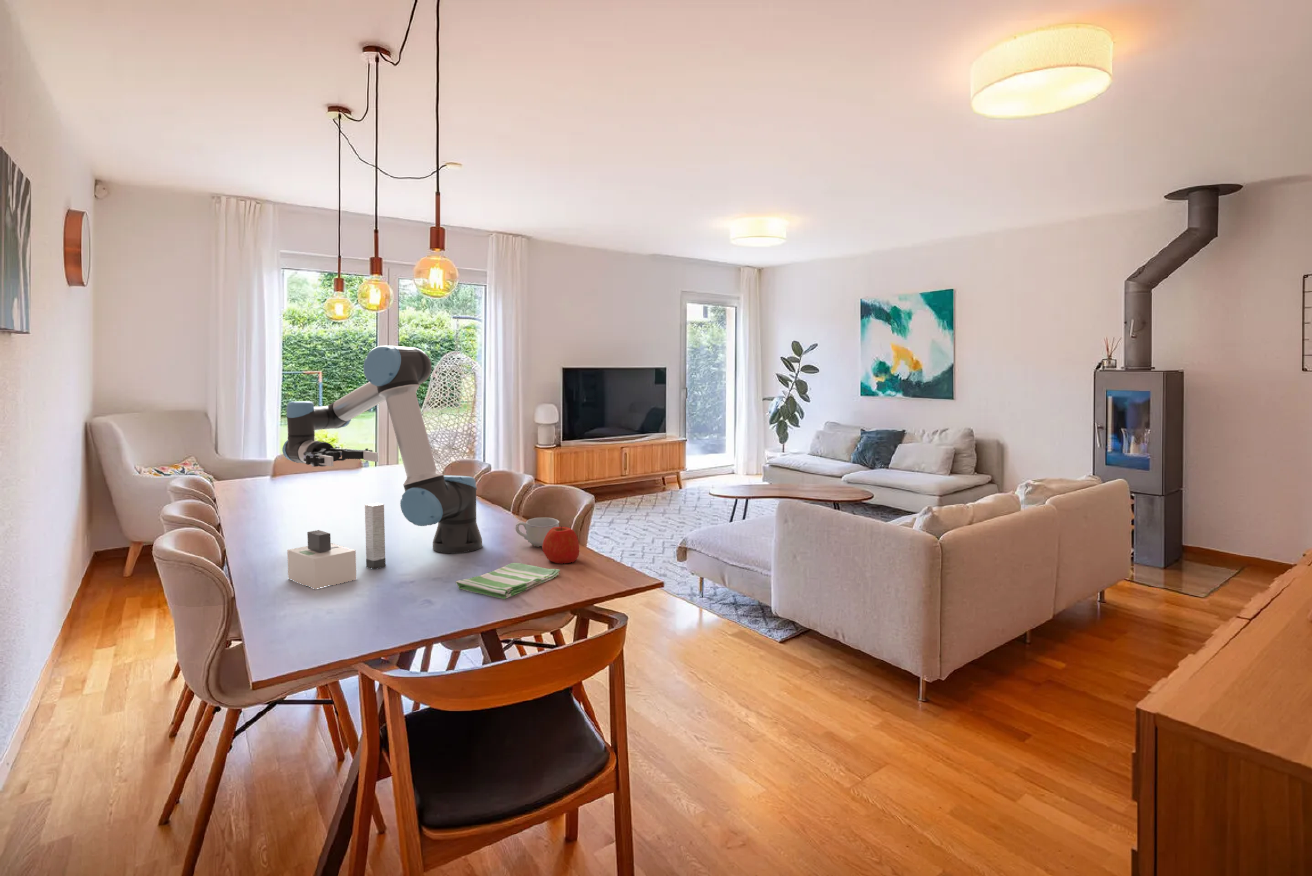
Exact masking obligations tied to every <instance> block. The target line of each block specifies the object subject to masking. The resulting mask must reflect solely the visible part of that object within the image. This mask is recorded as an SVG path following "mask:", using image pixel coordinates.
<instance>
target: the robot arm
mask: <svg viewBox="0 0 1312 876" xmlns="http://www.w3.org/2000/svg"><path fill="white" fill-rule="evenodd" d="M431 373H432V361H431V359H430V357H429V356H428V354H427V353H426V352H424V351H423V350H421V349H420V348H417V347H414V346H413V347H412V346H399V345H397V346H396V345H392V344H391V345H389V344H387V345H379V346H376V347H374V348H372V349H371V350H369V352H368V353H367V356H366V357H365V358H364V361H363V375H364V377H365V380H367V382H366V383H365V384H362V385H360V386H359V387H357V388H356V389H354V390H352V391H350V392H349V393H347V394H346V395H343V396H342V397H341V398H339V399H336V400H335V401H334V402H332V403H330V404H328V405H324V406H321V405H320V406H315V404H314V402H313V401H311V400H310V401H309V400H299V401H297V400H295V401H294V400H293V401H289V402H288V403H287V406H286V421H287V422H286V423H287V424H286V425H287V440H286V441H284V444H283V446H282V448H281V449H282V450H281V451H282V454H283V457H284V458H285V459H287V460H288V461H290V462H293V463H297V464H299V463H300V464H305V465H307V466H308V465H311V467H315V468H317V467H334V462H338V461H339V462H340V461H341V462H344V461H346V460H363V461H369V462H374V463H377V462H379V452H375V451H373V449H369V448H368V447H367V448H365V449H349V448H336V447H334V446H333V445H332V444H331V443H329V442H327V441H320V440H316V438H315V435H316V434H315V433H316V431H318V430H319V431H320V430H330V429H341V428H345V427H348V425H349V424H350V422H351V421H352V419H354V418H356V417H358V416H360V415H361V414H363V413H365V412H366V411H368V410H370V409H372V408H374V407H376V406H377V405H379V404H380V403H383V402H386V406H387V410H388V413H389V416H390V419H391V423H392V427H393V430H394V434H395V437H396V438H395V439H396V441H397V445H398V450H399V452H400V456H401V460H402V461H401V462H402V464H403V467H404V468H403V469H404V472H405V475H406V479H405V481H404V483H403V488H404V493H403V494H402V495H401V499H400V501H399V505H400V511H401V513H402V515H403V516H404V518H405V519H406V520H407V521H408V522H409V523H412V524H413V525H414V526H418V527H427V526H433V525H436V524H437V527H436V531H435V534H434V536H433V537H434V538H433V539H432V550H433V551H435V552H437V553H443V554H460V553H461V554H462V553H469V552H473V551H477V550H479V549H481V548H482V547H483V538H482V534H481V532H480V530H479V526H478V523H477V490H478V489H477V483H476V478H474V477H473V476H468V475H467V476H466V475H454V474H453V475H451V474H449V475H447V474H446V475H444V473H442V472H440V471H438V469H437V466H436V462H435V459H434V455H433V451H432V448H431V445H430V444H431V443H430V440H429V438H428V432H427V430H426V426H425V423H424V422H425V421H424V418H423V415H422V411H421V408H420V403H419V401H418V397H417V391H418V389H420V386H421V385H422V384H423V383H425V382H426V381H427V380H428V378H429V377H430V376H431Z"/></svg>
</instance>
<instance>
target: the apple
mask: <svg viewBox="0 0 1312 876" xmlns="http://www.w3.org/2000/svg"><path fill="white" fill-rule="evenodd" d="M578 539H579V538H578V535H577V533H576V532H575V531H574V529H572V528H570V527H567V526H559V527H553V528H552V529H550V530H549V532H548V533H547V535H546V536H545V538H544V541H543V545H542V547H541V548H542V553H543V554H544V556H545V557H546V559H547V561H549V562H552V563H555V564H562V565H563V563H564V564H570V563H571V562H572V563H574V562H576V561H577V560H578V558H579V555H580V544H579V540H578Z"/></svg>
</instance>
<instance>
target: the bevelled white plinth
mask: <svg viewBox="0 0 1312 876" xmlns="http://www.w3.org/2000/svg"><path fill="white" fill-rule="evenodd" d="M356 553H357V552H356V549H352V548H349V547H345V546H342V545H339V544H336V543H334V542H333V543H332V542H331V550H329V551H324V552H317V551H313V550H310V549H308V545H305V546H300V547H296V548H291V549H287V575H288V576H287V577H288V578H289V579H292V580H294V581H296V582H298V583H297V584H299V583H301V584H303V585H302V586H304V585H307V586H310V587H312V588H314V589H317V588H320V587H324V586H328V585H333V586H337V585H340V583H341V584H345V583H349V582H352V580H353V581H356V580H357V557H356V555H357V554H356ZM288 578H287V579H288ZM289 579H288V580H289ZM294 581H293V582H294ZM348 581H349V582H348ZM296 582H295V583H296ZM344 582H345V583H344ZM301 584H300V585H301ZM336 584H337V585H336ZM312 588H311V589H312ZM314 589H313V590H314ZM317 590H318V589H317Z"/></svg>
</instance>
